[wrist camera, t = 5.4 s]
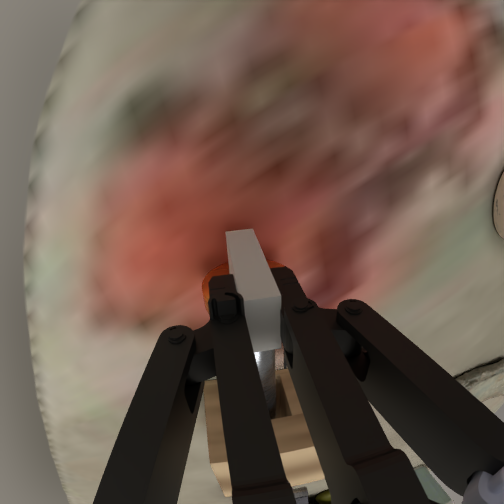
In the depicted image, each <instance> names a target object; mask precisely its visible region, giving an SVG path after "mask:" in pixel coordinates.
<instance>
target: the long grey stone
mask: <svg viewBox="0 0 504 504" xmlns="http://www.w3.org/2000/svg"><path fill="white" fill-rule="evenodd" d="M456 380H457V381H458V382H459V383H460V384H461V385H462V386H464V387H465V388H466V389H467V390H468V391H469V392H470V393H471V394H473V395H474V396H475V397H476V398H477V399H478V400H479V401H480V402H483V401H486V400H488V399H490V398H494V397H497V396H500V395H504V358H503V359H502V360H500V361H499V362H498V363H494V364H491V365H486V366H483V367H479V368H474V369H473V370H471V371H469V372H468V373H464V375H462V376H460V377H458V378H456Z"/></svg>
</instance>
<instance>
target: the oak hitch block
mask: <svg viewBox="0 0 504 504" xmlns="http://www.w3.org/2000/svg"><path fill="white" fill-rule="evenodd" d="M275 377H276V417H275V419H272V420H271V422H272V426H273V430H274V433H275V437H276V441H277V445H278V449H279V452H280V456H281V460H282V464H283V467H284V471H285V474H286V478H287V480H288V481H289V483H290V484H291V487H292V486H296V485H301V484H305V483H309V482H313V481H317V480H321V479H325V477H324V474H323V471H322V468H321V465H320V462H319V459H318V456H317V453H316V450H315V447H314V444H313V441H312V438H311V435H310V432H309V429H308V426H307V423H306V420H305V417H304V415H303V412H302V409H301V406H300V403H299V400H298V397H297V394H296V391H295V388H294V385H293V382H292V379H291V376H290V373H289V370H288V369H282V370H277V371H275ZM204 400H205V413H206V426H207V437H208V448H209V458H210V465H211V467H212V469H213V471H214V474H215V476H216V478H217V480H218V482H219V484H220V487H221V489H222V491H223V493H224V495H225V497H229V496H232V486H231V480H230V473H229V467H228V460H227V453H226V446H225V439H224V432H223V425H222V417H221V409H220V402H219V393H218V385H217V380H208V381H205V385H204Z"/></svg>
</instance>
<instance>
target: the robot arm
mask: <svg viewBox="0 0 504 504" xmlns="http://www.w3.org/2000/svg"><path fill="white" fill-rule="evenodd" d="M225 233H226V243H227V253H228V263H229V273H230V274H228V275H220V276H212V278H211V279H210V281H209V282H208V286H209V300H208V307H209V314H210V320H209V322H208V323H207V324H206V325H204V326H203V327H201V328H199V329H196V330H194V331H192V329H190V328H189V327H187V326H182V325H178V326H172V327H169V328H167V329H166V330H164V331H163V332H162V333H161V335H160V336H159V338H158V341H157V343H156V345H155V348H154V350H153V352H152V354H151V357H150V359H149V361H148V364H147V366H146V368H145V371H144V373H143V375H142V378H141V380H140V383H139V385H138V387H137V390H136V392H135V395H134V397H133V399H132V402H131V404H130V407H129V409H128V412H127V414H126V417H125V419H124V422H123V424H122V427H121V429H120V432H119V434H118V437H117V439H116V442H115V445H114V447H113V450H112V452H111V455H110V458H109V460H108V463H107V466H106V468H105V471H104V474H103V476H102V479H101V482H100V485H99V488H98V490H97V493H96V496H95V499H94V502H93V504H177V501H178V496H179V492H180V488H181V483H182V479H183V474H184V470H185V466H186V461H187V457H188V453H189V448H190V444H191V440H192V435H193V431H194V427H195V423H196V418H197V414H198V410H199V406H200V401H201V397H202V393H203V389H204V385H205V380H207V379H210V378H212V377H215V376H217V385H218V393H219V402H220V409H221V417H222V425H223V432H224V439H225V446H226V453H227V460H228V467H229V473H230V480H231V486H232V501H233V504H297V503H296V500H295V496H294V493H293V490H292V487H291V484H290V483H289V481H288V480H287V478H286V474H285V471H284V467H283V464H282V460H281V456H280V452H279V449H278V445H277V441H276V437H275V433H274V430H273V426H272V422H271V418H270V414H269V410H268V406H267V402H266V399H265V395H264V391H263V387H262V383H261V379H260V375H259V371H258V367H257V363H256V359H255V355H254V352H261V351H267V350H273V349H279V348H281V340H282V343H283V346H284V369H286V368H287V367H288V370H289V373H290V376H291V379H292V382H293V385H294V388H295V391H296V394H297V397H298V400H299V403H300V406H301V409H302V412H303V415H304V417H305V420H306V423H307V426H308V429H309V432H310V435H311V438H312V441H313V444H314V447H315V450H316V453H317V456H318V459H319V462H320V465H321V468H322V471H323V474H324V477H325V480H326V482H327V485H328V488H329V491H330V495H331V504H440V503H437V502H435V501H433V500H430V499H428V497H427V495H426V493H425V491H424V488H423V486H422V484H421V482H420V480H419V478H418V476H417V474H416V472H415V470H414V468H413V466H412V464H411V463H410V461H409V459H408V457H407V456H406V454H405V453H404V452H403V451H402V450H401V449H394V448H393V447H392V446H391V445H390V443H389V441H388V439H387V437H386V435H385V433H384V431H383V429H382V427H381V425H380V423H379V421H378V419H377V417H376V415H375V413H374V411H373V409H372V407H371V405H370V403H371V404H372V405H373V406H374V408H375V409H376V410H377V411H378V412H379V413H380V414H381V415H382V416H383V418H384V419H385V420H386V421H387V422H388V423H389V424H390V425H391V426H392V428H393V429H394V430H395V431H396V432H397V433H398V434H399V435H400V436H401V438H402V439H403V440H404V441H405V442H406V443H407V444H408V445H409V446H410V447H411V449H412V450H413V451H414V452H415V453H416V454H417V455H418V456H419V457H420V458H421V460H422V461H423V462H424V463H425V464H426V465H427V466H428V467H429V468H430V469H431V470H432V471H433V473H434V474H435V475H436V476H437V477H438V478H439V479H440V480H441V481H442V482H443V483H444V484H445V485H446V486H448V487H449V488H450V489H452V490H453V491H454V492H456V493H457V494H459V495H461V496H463V501H462V504H504V422H502V421H501V420H500V419H499V418H498V417H497V416H496V415H495V414H494V413H493V412H491V411H490V410H489V409H488V408H487V407H486V406H485V405H484V404H483V403H482V402H480V401H479V400H478V399H477V398H476V397H475V396H474V395H473V394H471V393H470V392H469V391H468V390H467V389H466V388H465V387H464V386H462V385H461V384H460V383H459V382H458V381H457V380H456V379H454V378H453V377H452V376H451V375H450V374H449V373H448V372H446V371H445V370H444V369H443V368H442V367H441V366H440V365H438V364H437V363H436V362H435V361H434V360H433V359H431V358H430V357H429V356H428V355H427V354H426V353H424V352H423V351H422V350H421V349H420V348H419V347H417V346H416V345H415V344H414V343H413V342H412V341H410V340H409V339H408V338H407V337H406V336H404V335H403V334H402V333H401V332H400V331H399V330H397V329H396V328H395V327H394V326H393V325H391V324H390V323H389V322H388V321H387V320H385V319H384V318H383V317H382V316H381V315H379V314H378V313H377V312H376V311H375V310H373V309H372V308H371V307H370V306H368V305H367V304H366V303H364V302H362V301H360V300H356V299H348V300H344V301H342V302H340V303H339V305H338V306H337V309H323V308H319V307H318V306H317V304H316V303H315V302H314V301H312V300H310V299H308V298H307V297H306V295H305V293H304V291H303V290H302V288H301V286H300V284H299V283H298V280H297V278H296V276H295V275H294V273H293V271H292V270H290V269H289V268H287V267H286V266H284V267H276V268H269V266H268V263H267V261H266V258H265V256H264V254H263V251H262V249H261V247H260V244H259V242H258V240H257V237H256V235H255V233H254V230H253V229H244V230H235V231H227V232H225ZM368 401H369V402H370V403H369V402H368Z"/></svg>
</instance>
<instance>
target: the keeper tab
mask: <svg viewBox="0 0 504 504" xmlns="http://www.w3.org/2000/svg"><path fill="white" fill-rule="evenodd" d="M292 490H293V493H294V496H295V500H296V503H297V504H308V491H307V488H306V486H305V487H301V488H296V489H292Z"/></svg>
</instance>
